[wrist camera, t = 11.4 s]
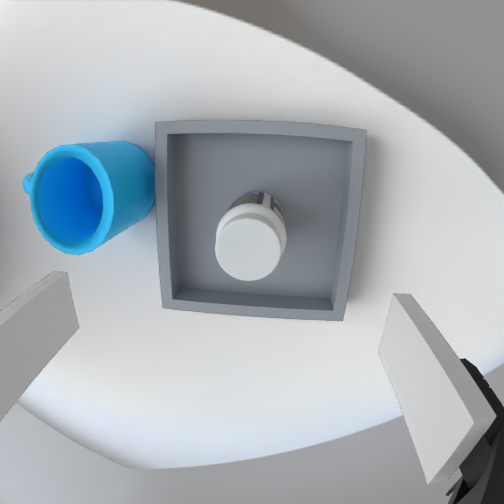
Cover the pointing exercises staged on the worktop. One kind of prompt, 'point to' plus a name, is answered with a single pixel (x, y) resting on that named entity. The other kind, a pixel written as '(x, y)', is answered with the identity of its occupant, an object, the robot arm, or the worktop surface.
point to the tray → (273, 183)
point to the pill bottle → (251, 236)
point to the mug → (90, 193)
